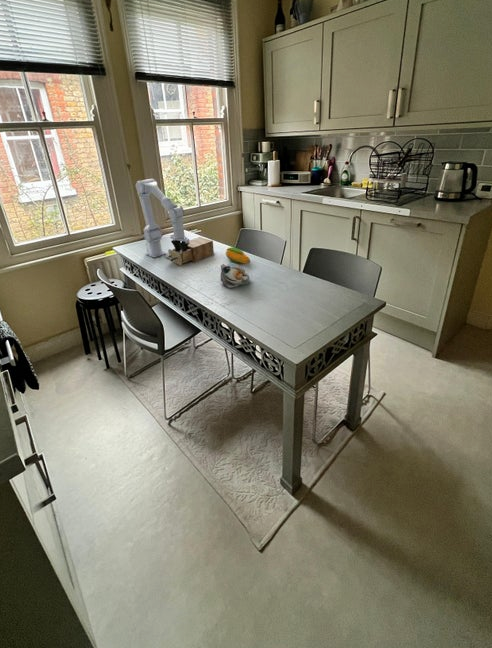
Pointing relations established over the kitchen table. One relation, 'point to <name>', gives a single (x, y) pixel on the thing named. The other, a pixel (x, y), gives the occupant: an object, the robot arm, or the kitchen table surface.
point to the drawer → (177, 257)
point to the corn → (237, 255)
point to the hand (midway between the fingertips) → (181, 253)
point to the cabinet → (201, 248)
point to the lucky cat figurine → (233, 275)
